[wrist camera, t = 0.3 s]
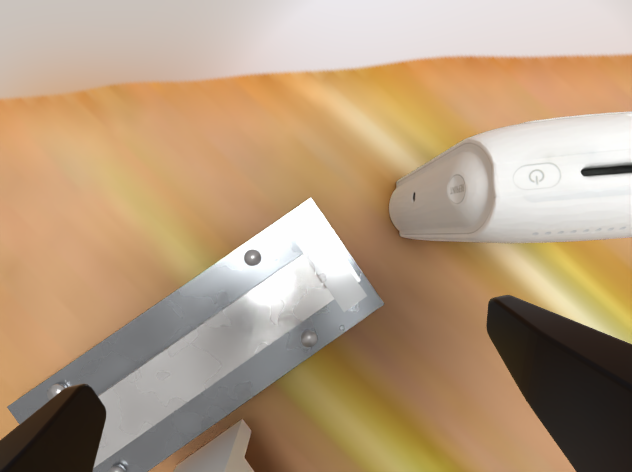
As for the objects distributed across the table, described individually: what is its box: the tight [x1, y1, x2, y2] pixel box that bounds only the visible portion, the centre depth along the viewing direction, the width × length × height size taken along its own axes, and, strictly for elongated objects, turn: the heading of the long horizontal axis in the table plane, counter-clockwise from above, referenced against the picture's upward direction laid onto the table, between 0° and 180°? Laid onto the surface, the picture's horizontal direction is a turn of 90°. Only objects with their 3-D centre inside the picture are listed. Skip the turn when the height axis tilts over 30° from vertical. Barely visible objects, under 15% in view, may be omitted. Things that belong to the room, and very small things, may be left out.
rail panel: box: [7, 198, 384, 472], centre depth 19 cm, size 8×22×4 cm, turn 125°
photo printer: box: [389, 112, 632, 243], centre depth 15 cm, size 10×4×12 cm, turn 94°
